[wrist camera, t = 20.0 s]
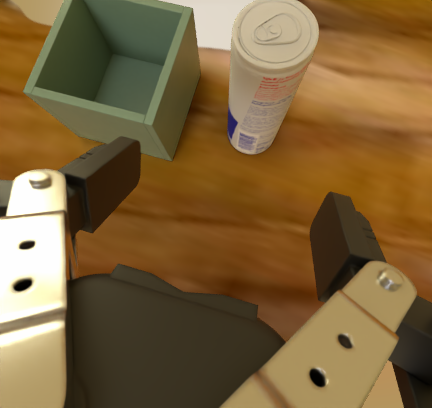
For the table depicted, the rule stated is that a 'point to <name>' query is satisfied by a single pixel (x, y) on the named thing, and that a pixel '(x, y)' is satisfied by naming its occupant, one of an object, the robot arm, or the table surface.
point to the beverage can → (267, 69)
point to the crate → (120, 71)
